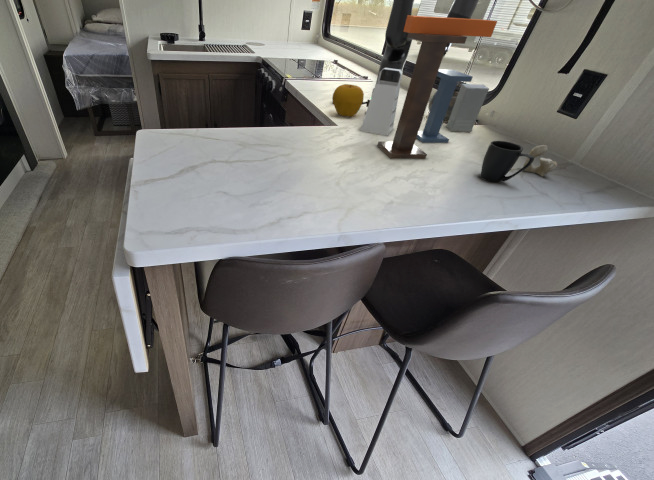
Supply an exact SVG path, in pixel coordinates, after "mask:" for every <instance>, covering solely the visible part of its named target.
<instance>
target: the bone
mask: <svg viewBox="0 0 654 480" xmlns="http://www.w3.org/2000/svg"><path fill="white" fill-rule="evenodd" d="M546 152H548V145H546V144H540V145H537V146H534V147H533V148H531V149H530V151H529V153H528V155H531V156H533V157H534V159H535V158H537V157H540V156H544V154H546ZM529 160H530V159H529V158H528V157H526V159H525V161H524V164H523V167H524V166H525V165H526V164H527V163H528V162H529ZM539 163H540V165H538V166H534V165H533V164H531V165H530V166H529V167H527V168H526V169H525V170H523V171H522V172H528V173H533V174H538V175H539V176H540V177H543V178H544V176H545V175H547V174H549V173H550V172H553V171H554V170H556V168H558V163H557V161H556V160H552V159H551V158H545V157H540V158H539ZM523 167H522V168H523Z"/></svg>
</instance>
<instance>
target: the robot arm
mask: <svg viewBox="0 0 654 480" xmlns="http://www.w3.org/2000/svg"><path fill="white" fill-rule="evenodd" d="M479 1H480V0H453V2H452V4H451V7H450V9H449V11H448V13H447V15H446V18H463V19H472V17H473V14H474V13H475V10H476V8H477V5H478V4H479ZM414 3H415V0H393V2H392V6H391V10H390V14H389V18H388V21H387V25H386V29H385V36H384V37H385V42H386V48H385V52H384V54H383V57H382V58H381V60H380V64H379V67H378V73H377V77H376V81H375V84H376V83H377V81H378V77H379V72H380V71H381V70H382V69H383V70H382V72H381V77H380V80H382V81H389V82H396V83H399V79H400V75H401V74H400V72H399V71H395V70H387V69H384V68H392V69H400V70H401V71H402V72H403V70H404V66H405V64H406V61H407V59H408V56H409V53H410V49H411V46H412V42H413V39H411V38H407V36H408V32H404V27H405V23H406V19H407V16H408V15H412V13H413V8H414ZM452 45H453V43H447V46H446V49H445V52H444V55H443V58H442V60H443V59H444V58H445V56H446V54H447V53H448V52H449V50H450V49H451V47H452ZM373 91H374V88H372V92H371V95H370V98H368V99H367V101H363V102H362V105H361V106H363V105H365V107H366V108H368V105H369V102H370V100H371V97H372V94H373ZM332 105H334V104H333V102H332Z"/></svg>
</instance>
